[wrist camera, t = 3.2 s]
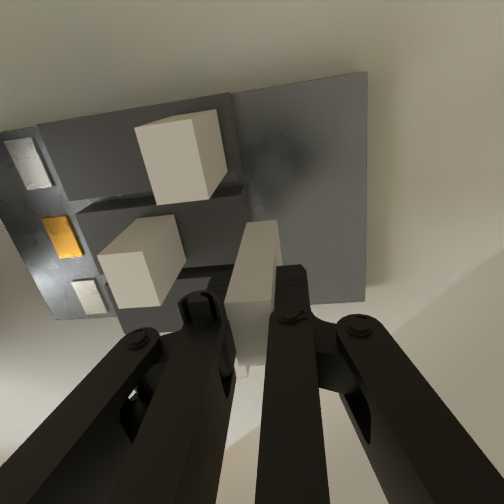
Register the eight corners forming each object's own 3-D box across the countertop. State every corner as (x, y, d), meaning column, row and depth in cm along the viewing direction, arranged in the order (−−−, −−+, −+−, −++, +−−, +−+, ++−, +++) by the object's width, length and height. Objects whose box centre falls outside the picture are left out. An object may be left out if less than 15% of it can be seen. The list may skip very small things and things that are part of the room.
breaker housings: (136, 316, 25) (89, 388, 19) (60, 120, 19) (-46, 139, 13) (264, 308, 23) (256, 385, 18) (229, 92, 17) (198, 98, 11)
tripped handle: (152, 263, 20) (118, 308, 16) (137, 218, 19) (96, 255, 15) (186, 260, 20) (160, 306, 16) (173, 214, 18) (141, 251, 14)
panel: (66, 308, 27) (53, 321, 26) (-21, 135, 21) (-45, 140, 20) (360, 289, 24) (365, 303, 22) (361, 72, 17) (368, 71, 16)
